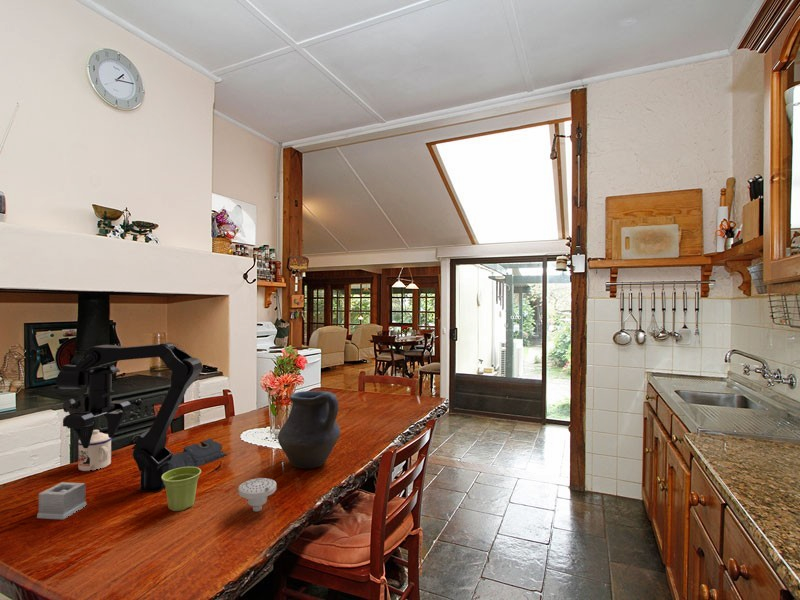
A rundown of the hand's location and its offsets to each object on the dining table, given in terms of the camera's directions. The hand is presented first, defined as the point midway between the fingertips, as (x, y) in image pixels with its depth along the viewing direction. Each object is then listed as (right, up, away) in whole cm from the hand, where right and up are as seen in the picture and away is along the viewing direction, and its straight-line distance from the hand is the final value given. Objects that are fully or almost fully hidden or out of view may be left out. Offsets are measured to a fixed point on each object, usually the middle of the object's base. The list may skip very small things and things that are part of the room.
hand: (98, 442), depth 122 cm
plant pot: (+29, -14, -10) cm, 34 cm away
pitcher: (+57, -14, +20) cm, 62 cm away
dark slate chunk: (+16, -14, +22) cm, 30 cm away
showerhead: (+50, -14, -12) cm, 53 cm away
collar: (+1, -12, -14) cm, 18 cm away
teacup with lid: (-11, -13, +15) cm, 23 cm away
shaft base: (+1, -13, -14) cm, 19 cm away
